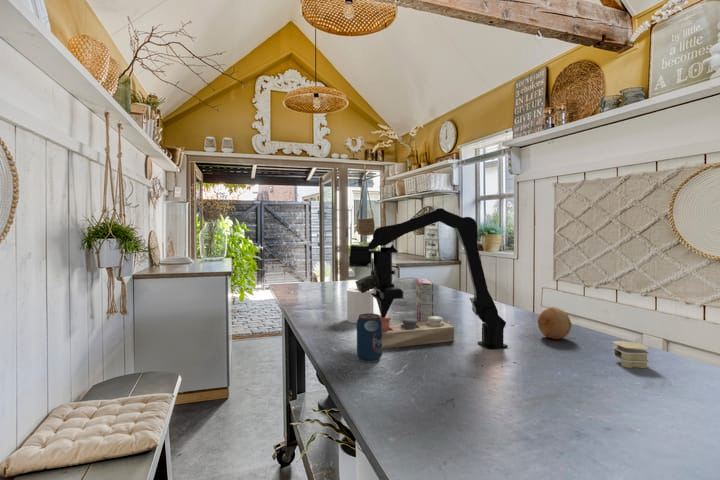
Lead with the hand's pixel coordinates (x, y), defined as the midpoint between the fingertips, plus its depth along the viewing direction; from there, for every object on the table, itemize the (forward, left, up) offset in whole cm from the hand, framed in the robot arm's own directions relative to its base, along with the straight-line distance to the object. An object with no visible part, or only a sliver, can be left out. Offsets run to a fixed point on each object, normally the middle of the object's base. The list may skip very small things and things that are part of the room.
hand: (383, 316), depth 121 cm
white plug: (0, -18, -8) cm, 19 cm away
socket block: (0, -9, -8) cm, 12 cm away
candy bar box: (+15, -21, -8) cm, 28 cm away
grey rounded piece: (0, -9, -8) cm, 12 cm away
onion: (-13, -53, -8) cm, 56 cm away
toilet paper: (+30, -1, -8) cm, 31 cm away
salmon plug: (0, 0, -6) cm, 6 cm away
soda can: (-12, +9, -8) cm, 17 cm away
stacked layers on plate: (-38, -55, -9) cm, 67 cm away
